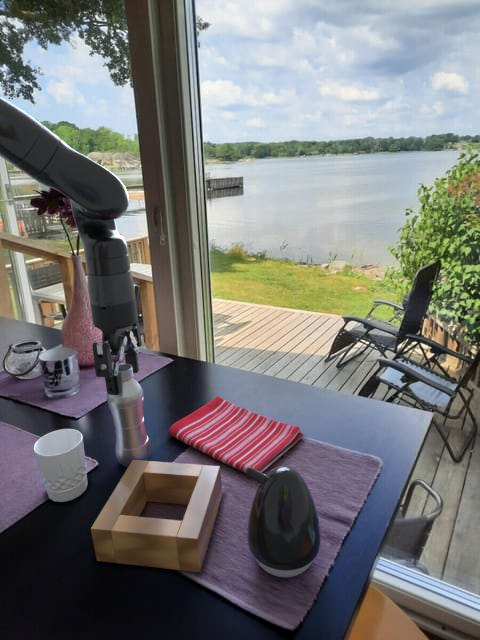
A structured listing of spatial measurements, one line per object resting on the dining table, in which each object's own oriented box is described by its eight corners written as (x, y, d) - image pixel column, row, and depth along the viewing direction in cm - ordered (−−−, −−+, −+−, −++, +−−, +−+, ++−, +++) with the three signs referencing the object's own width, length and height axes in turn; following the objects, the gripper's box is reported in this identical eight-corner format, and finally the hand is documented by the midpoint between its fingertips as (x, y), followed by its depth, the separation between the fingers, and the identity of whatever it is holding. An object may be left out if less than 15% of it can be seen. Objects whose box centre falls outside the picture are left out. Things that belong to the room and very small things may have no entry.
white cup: (70, 509, 74) (60, 459, 71) (34, 499, 77) (22, 450, 73) (100, 479, 81) (92, 432, 78) (65, 471, 84) (56, 425, 80)
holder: (96, 561, 64) (90, 528, 62) (136, 487, 78) (132, 459, 76) (200, 572, 61) (197, 539, 59) (222, 495, 76) (220, 465, 74)
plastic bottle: (157, 463, 85) (146, 368, 78) (123, 477, 81) (109, 379, 75) (144, 446, 90) (133, 357, 83) (112, 459, 86) (97, 366, 80)
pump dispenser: (261, 523, 69) (259, 441, 64) (326, 542, 66) (329, 456, 61) (235, 576, 61) (231, 486, 56) (309, 601, 57) (312, 506, 52)
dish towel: (219, 403, 105) (218, 393, 105) (304, 436, 91) (305, 425, 90) (165, 437, 93) (164, 426, 92) (255, 482, 79) (254, 469, 78)
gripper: (109, 286, 82) (120, 365, 87) (70, 309, 69) (86, 401, 74) (148, 286, 81) (156, 366, 86) (115, 310, 68) (128, 403, 73)
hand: (124, 382), depth 80 cm, fingers open, 8 cm apart
